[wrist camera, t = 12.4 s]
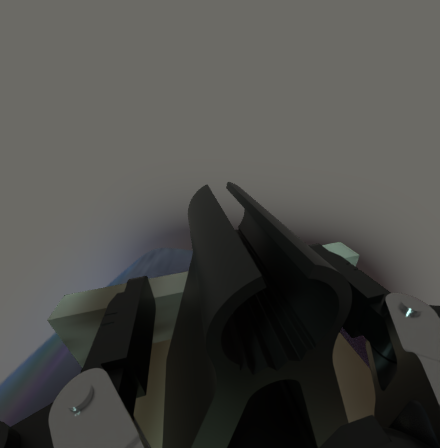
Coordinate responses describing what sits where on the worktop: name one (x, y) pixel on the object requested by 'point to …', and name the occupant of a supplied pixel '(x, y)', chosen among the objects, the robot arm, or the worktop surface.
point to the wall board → (163, 330)
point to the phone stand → (253, 336)
